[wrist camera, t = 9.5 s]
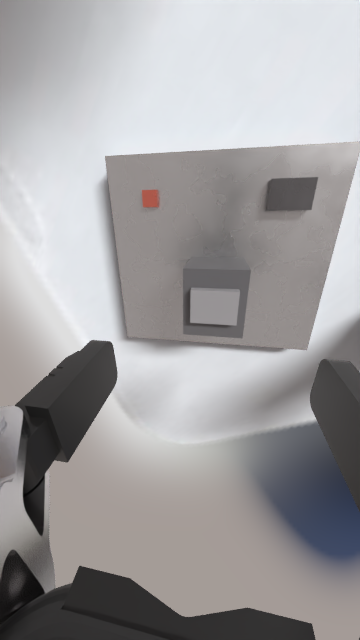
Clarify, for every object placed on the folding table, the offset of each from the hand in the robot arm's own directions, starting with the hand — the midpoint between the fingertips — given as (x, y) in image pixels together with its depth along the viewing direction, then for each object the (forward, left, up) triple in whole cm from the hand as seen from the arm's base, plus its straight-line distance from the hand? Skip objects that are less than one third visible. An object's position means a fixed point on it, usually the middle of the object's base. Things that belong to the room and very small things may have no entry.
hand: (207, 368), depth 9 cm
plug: (0, 0, -15) cm, 15 cm away
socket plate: (-2, 0, -15) cm, 15 cm away
